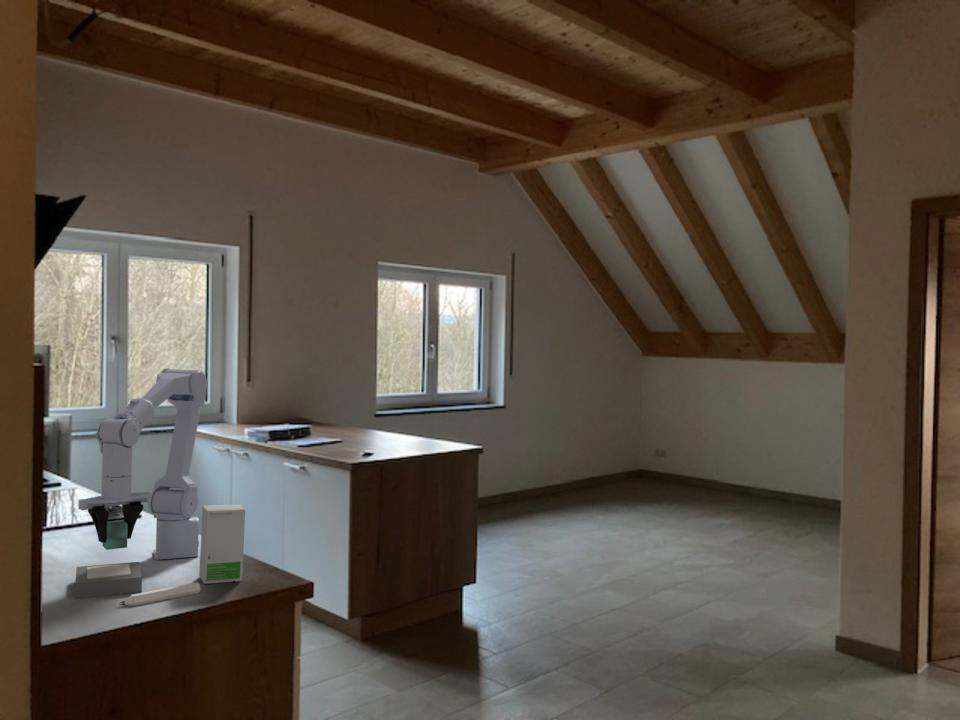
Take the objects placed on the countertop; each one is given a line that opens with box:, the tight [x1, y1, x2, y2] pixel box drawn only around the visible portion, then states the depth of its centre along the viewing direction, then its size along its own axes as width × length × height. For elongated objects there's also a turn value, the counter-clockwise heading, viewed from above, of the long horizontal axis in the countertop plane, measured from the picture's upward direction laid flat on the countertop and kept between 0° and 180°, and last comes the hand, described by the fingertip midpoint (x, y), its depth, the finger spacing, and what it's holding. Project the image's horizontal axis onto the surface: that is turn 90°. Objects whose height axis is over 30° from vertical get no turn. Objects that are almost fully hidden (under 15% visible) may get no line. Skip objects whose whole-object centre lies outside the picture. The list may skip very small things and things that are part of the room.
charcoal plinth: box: [74, 561, 143, 599], centre depth 164 cm, size 12×12×3 cm
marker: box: [116, 582, 201, 607], centre depth 157 cm, size 3×2×16 cm
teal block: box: [102, 519, 128, 551], centre depth 169 cm, size 4×4×5 cm
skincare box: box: [198, 504, 246, 585], centre depth 172 cm, size 8×7×16 cm
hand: (114, 539), depth 169 cm, fingers closed on teal block, 5 cm apart
